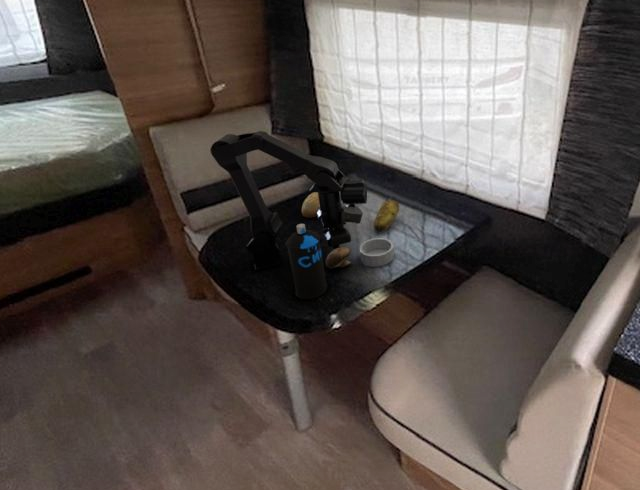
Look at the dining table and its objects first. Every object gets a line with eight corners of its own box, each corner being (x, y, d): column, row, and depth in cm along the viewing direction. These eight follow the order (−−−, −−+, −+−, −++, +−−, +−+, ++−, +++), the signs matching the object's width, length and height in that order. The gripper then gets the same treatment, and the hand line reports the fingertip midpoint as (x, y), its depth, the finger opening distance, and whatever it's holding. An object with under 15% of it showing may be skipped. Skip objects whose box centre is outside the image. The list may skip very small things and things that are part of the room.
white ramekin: (365, 270, 121) (364, 259, 120) (357, 253, 129) (356, 242, 128) (398, 262, 126) (397, 250, 124) (388, 245, 134) (388, 235, 132)
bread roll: (348, 208, 157) (346, 189, 154) (311, 223, 146) (308, 203, 143) (333, 201, 162) (330, 182, 159) (297, 215, 151) (293, 195, 148)
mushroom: (360, 257, 122) (346, 241, 120) (339, 277, 118) (324, 261, 116) (353, 257, 128) (339, 242, 127) (332, 276, 124) (318, 261, 123)
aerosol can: (288, 292, 112) (275, 227, 104) (314, 276, 118) (303, 214, 111) (308, 303, 108) (296, 237, 100) (334, 286, 114) (324, 223, 107)
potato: (364, 230, 142) (362, 209, 139) (390, 215, 153) (388, 195, 150) (382, 237, 139) (380, 215, 135) (407, 221, 149) (406, 201, 146)
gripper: (366, 212, 115) (371, 258, 122) (351, 185, 130) (356, 228, 137) (324, 221, 110) (332, 269, 117) (313, 192, 125) (320, 237, 132)
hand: (336, 249), depth 126 cm, fingers closed
